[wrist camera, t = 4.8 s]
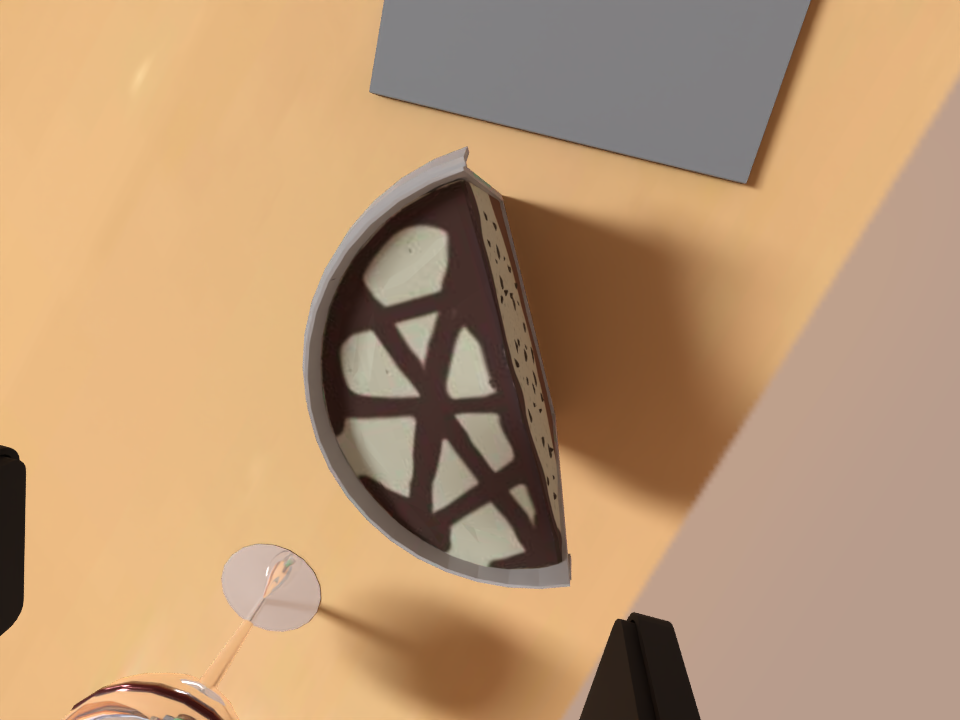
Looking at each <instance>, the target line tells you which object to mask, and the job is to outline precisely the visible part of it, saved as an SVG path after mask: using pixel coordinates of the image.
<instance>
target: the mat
mask: <svg viewBox="0 0 960 720" xmlns="http://www.w3.org/2000/svg"><path fill="white" fill-rule="evenodd" d="M810 1H811V0H384V5H383V11H382V17H381V23H380V29H379V36H378V42H377V48H376V54H375V60H374V66H373V72H372V78H371V84H370V90H369V92H371V93H373V94H376V95H380V96H384V97H389V98H393V99H397V100H401V101H405V102H409V103H413V104H417V105H421V106H426V107H430V108H434V109H438V110H442V111H446V112H450V113H454V114H458V115H463V116H467V117H471V118H475V119H479V120H483V121H487V122H491V123H495V124H499V125H504V126H508V127H512V128H516V129H520V130H524V131H528V132H532V133H536V134H541V135H545V136H549V137H553V138H557V139H561V140H565V141H569V142H573V143H578V144H582V145H586V146H590V147H594V148H598V149H602V150H606V151H610V152H614V153H619V154H623V155H627V156H631V157H635V158H639V159H643V160H647V161H651V162H656V163H660V164H664V165H668V166H672V167H676V168H680V169H684V170H688V171H693V172H697V173H701V174H705V175H709V176H713V177H717V178H721V179H725V180H730V181H734V182H738V183H745V184H746V183H747V180H748V177H749V174H750V171H751V168H752V166H753V163H754V160H755V157H756V154H757V151H758V149H759V146H760V143H761V140H762V137H763V134H764V132H765V129H766V126H767V123H768V120H769V117H770V115H771V112H772V109H773V106H774V103H775V100H776V98H777V95H778V92H779V89H780V86H781V83H782V80H783V78H784V75H785V72H786V69H787V66H788V63H789V61H790V58H791V55H792V52H793V49H794V46H795V44H796V41H797V38H798V35H799V32H800V29H801V27H802V24H803V21H804V18H805V15H806V12H807V10H808V7H809V4H810Z"/></svg>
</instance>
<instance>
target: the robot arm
mask: <svg viewBox="0 0 960 720" xmlns="http://www.w3.org/2000/svg"><path fill="white" fill-rule="evenodd" d="M25 497H26V468H25V465H24V463H23V462H21V461H20V459H19V455H18V453H17V452H16V451H15V450H14V449H12V448H9V447H6V446H2V445H0V636H1V635H2V634H3V633H4V632H5V631H7V630H8V629H9V628H10V627H11V626H12V625H13V624H14V622H15V621H16V620H17V618H18V616H19V614H20V613H21V610H22V607H23V602H24V551H25ZM579 720H701V719H700V716H699V712H698V709H697V706H696V702H695V699H694V696H693V692H692V689H691V685H690V682H689V678H688V675H687V672H686V668H685V665H684V662H683V658H682V655H681V651H680V648H679V644H678V641H677V638H676V634H675V631H674V628H673V626H672V624H671V623H670V622H669V621H665V620H661V619H657V618H654V617H650V616H646V615H642V614H639V613H635V612H634V613H631V614H630V616H629V617H628V619H627V621H626V620H622V619H617V620H616V621H615V623H614V625H613V628H612V631H611V633H610V636H609V639H608V642H607V644H606V647H605V650H604V653H603V656H602V658H601V661H600V664H599V667H598V669H597V672H596V675H595V678H594V681H593V683H592V686H591V689H590V692H589V694H588V697H587V700H586V703H585V705H584V708H583V711H582V714H581V717H580V719H579Z"/></svg>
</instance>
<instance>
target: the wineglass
mask: <svg viewBox="0 0 960 720" xmlns="http://www.w3.org/2000/svg"><path fill="white" fill-rule="evenodd" d="M221 579H222V587H223V593H224V595H225V597H226V599H227V601H228V603H229V605H230V606H231V607H232V608H233V610H234V611H235V612H236V613H237V614H238V615H239V616H240V617H241V618H243V619H244V620H243V622H242V623H241V625H240V626H239V627H238V629H237V630H236V631H235V633H234V634H233V635H232V637H231V638H230V639H229V641H228V642H227V643H226V645H225V646H224V647H223V649H222V650H221V651H220V653H219V654H218V655H217V657H216V658H215V659H214V661H213V662H212V663H211V665H210V666H209V667H208V669H207V670H206V672H205V673H204V674H203V676H202V677H201V678H200V679H199V678H196V677H193V676H190V675H187V674H179V673H143V674H138V675H133V676H128V677H123V678H120V679H118V680H116V681H115V682H113V683H111V684H109V685H107V686H105V687H103V688H101V689H99V690H98V691H96V692H95V693H93V694H91V695H90V696H88V697H86V698H85V699H83V700H82V701H80V702H79V703H77V704H76V705H74V707H73V708H72V710H71V711H70V712H69V713H68V714H67V715H66V716H65V717H63V719H62V720H239V718H238V716H237V714H236V712H235V710H234V708H233V706H232V704H231V702H230V701H229V700H228V699H227V698H226V697H225V696H224V695H223V694H222V693H221V692H220V691H219V690H218V689H217V687H218V686H219V684H220V682H221V680H222V679H223V677H224V675H225V673H226V672H227V670H228V668H229V666H230V665H231V663H232V661H233V660H234V658H235V656H236V654H237V653H238V651H239V649H240V647H241V646H242V644H243V642H244V640H245V639H246V637H247V635H248V634H249V632H250V630H251V628H252V627H253V625H254V626H257V627H260V628H262V629H265V630H269V631H288V630H293V629H297V628H299V627H301V626H302V625H304V624H306V623H307V622H309V621H310V620H311V618H312V617H313V616H314V615H315V613H316V612H317V610H318V606H319V603H320V599H321V597H320V585H319V583H318V581H317V578H316V576H315V574H314V572H313V571H312V569H311V568H310V567H309V566H308V565H307V564H306V562H305V561H304V560H303V559H301V558H300V557H298V556H297V555H296V554H294V553H293V552H291V551H290V550H287V549H284V548H281V547H278V546H275V545H265V544H256V545H252V546H248V547H244V548H242V549H241V550H239V551H238V552H236V553H235V554H233V555H232V556H231V557H230V559H229V560H228V561H227V563H226V564H225V566H224V570H223V574H222V578H221Z"/></svg>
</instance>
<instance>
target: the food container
mask: <svg viewBox="0 0 960 720" xmlns="http://www.w3.org/2000/svg"><path fill="white" fill-rule="evenodd" d="M468 155H469V150H468V147H464V148H462V149H459V150H457V151H454V152H451V153H449V154H446V155H444V156H441V157H439V158H436V159H434V160H432V161H430V162H428V163H427V164H425V165H423V166H422V167H420V168H418V169H416V170H415V171H413V172H411V173H410V174H408V175H406V176H404V177H403V178H401V179H400V180H399V181H398V182H396V183H395V184H394V185H393V186H391V187H390V188H389V189H388V190H387V191H385V192H384V193H383V194H382V195H381V196H379V197H378V198H377V199H376V200H375V201H373V203H372V204H371V205H370V206H369V207H368V208H367V209H366V211H365V212H364V213H363V214H362V215H361V216H360V218H359V219H358V220H357V221H356V222H355V223H354V224H353V226H352V227H351V228H350V229H349V231H348V233H347V234H346V236H345V237H344V239H343V241H342V242H341V244H340V245H339V247H338V249H337V250H336V252H335V254H334V255H333V257H332V258H331V260H330V262H329V263H328V265H327V267H326V268H325V270H324V273H323V275H322V278H321V280H320V283H319V285H318V288H317V290H316V292H315V295H314V297H313V300H312V303H311V308H310V312H309V317H308V321H307V326H306V330H305V335H304V353H303V375H304V385H305V395H306V402H307V407H308V412H309V415H310V419H311V423H312V426H313V430H314V434H315V437H316V441H317V443H318V445H319V447H320V450H321V452H322V454H323V456H324V459H325V461H326V463H327V465H328V468H329V470H330V471H331V473H332V474H333V476H334V478H335V479H336V481H337V482H338V484H339V485H340V487H341V489H342V490H343V492H344V493H345V495H346V496H347V497H348V499H349V500H350V501H351V502H352V503H353V504H354V506H355V507H356V508H357V509H358V510H359V511H360V513H361V514H362V515H363V516H364V517H365V518H366V519H367V520H368V521H369V522H370V523H371V524H372V525H373V526H374V527H376V528H377V529H378V530H379V531H380V532H381V533H382V534H384V535H385V536H386V537H387V538H388V539H389V540H390V541H392V542H393V543H395V544H396V545H398V546H399V547H401V548H403V549H404V550H406V551H407V552H409V553H410V554H412V555H413V556H415V557H416V558H418V559H420V560H422V561H424V562H426V563H428V564H431V565H433V566H435V567H437V568H439V569H441V570H443V571H445V572H448V573H451V574H454V575H457V576H460V577H464V578H467V579H470V580H473V581H476V582H481V583H487V584H492V585H498V586H503V587H511V588H534V589H544V588H556V587H567V586H570V580H571V556H570V554H568V551H567V540H566V528H565V517H564V505H563V494H562V483H561V471H560V460H559V449H558V437H557V426H556V416H555V412H554V408H553V404H552V399H551V395H550V391H549V387H548V383H547V379H546V375H545V371H544V366H543V362H542V358H541V354H540V350H539V346H538V342H537V338H536V334H535V329H534V325H533V321H532V317H531V313H530V309H529V305H528V301H527V296H526V292H525V288H524V284H523V280H522V276H521V272H520V268H519V263H518V259H517V255H516V251H515V247H514V243H513V239H512V235H511V231H510V226H509V222H508V218H507V214H506V210H505V206H504V202H503V198H502V195H501V194H500V193H499V192H497V191H496V190H495V189H494V188H492V187H491V186H490V185H489V184H487V183H486V182H485V181H484V180H482V179H481V178H480V177H479V176H477V175H476V174H475V173H474V172H472V171H471V170H470V169H469V168H467V164H466V161H467V158H468Z"/></svg>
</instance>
